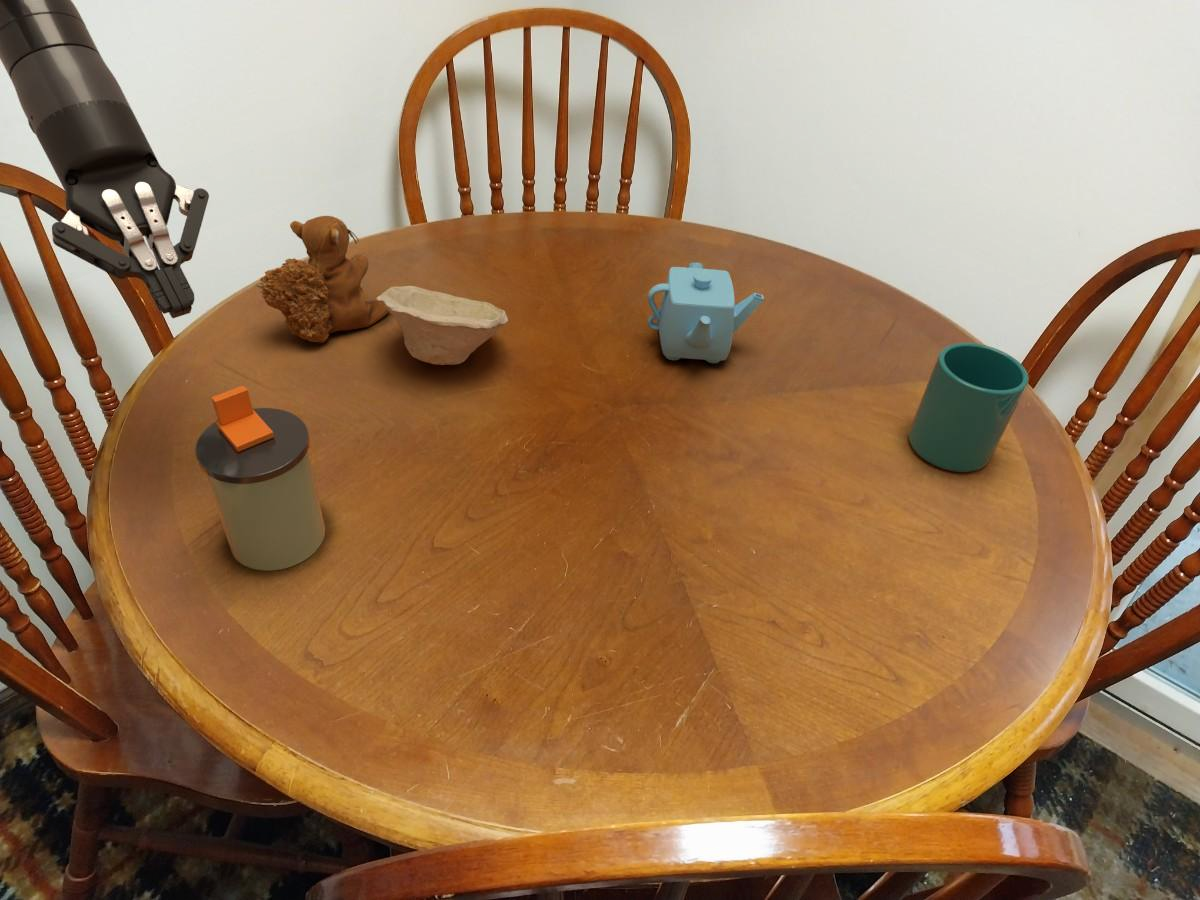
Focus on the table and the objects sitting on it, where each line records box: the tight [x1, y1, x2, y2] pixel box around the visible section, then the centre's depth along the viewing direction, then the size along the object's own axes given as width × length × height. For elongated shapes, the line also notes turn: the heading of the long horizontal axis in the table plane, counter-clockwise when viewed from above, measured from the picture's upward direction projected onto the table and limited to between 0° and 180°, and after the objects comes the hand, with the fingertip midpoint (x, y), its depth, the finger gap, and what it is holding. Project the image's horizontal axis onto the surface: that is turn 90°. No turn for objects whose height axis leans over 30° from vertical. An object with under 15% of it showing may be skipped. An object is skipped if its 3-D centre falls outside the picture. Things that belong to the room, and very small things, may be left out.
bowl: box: [376, 285, 509, 366], centre depth 99 cm, size 15×14×10 cm
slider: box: [211, 385, 274, 452], centre depth 71 cm, size 4×3×3 cm
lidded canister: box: [194, 407, 326, 572], centre depth 75 cm, size 9×9×12 cm
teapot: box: [647, 261, 765, 364], centre depth 104 cm, size 18×14×10 cm
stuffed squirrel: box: [255, 215, 390, 344], centre depth 102 cm, size 10×14×13 cm
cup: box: [908, 342, 1030, 473], centre depth 93 cm, size 9×12×11 cm
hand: (182, 312), depth 71 cm, fingers closed
